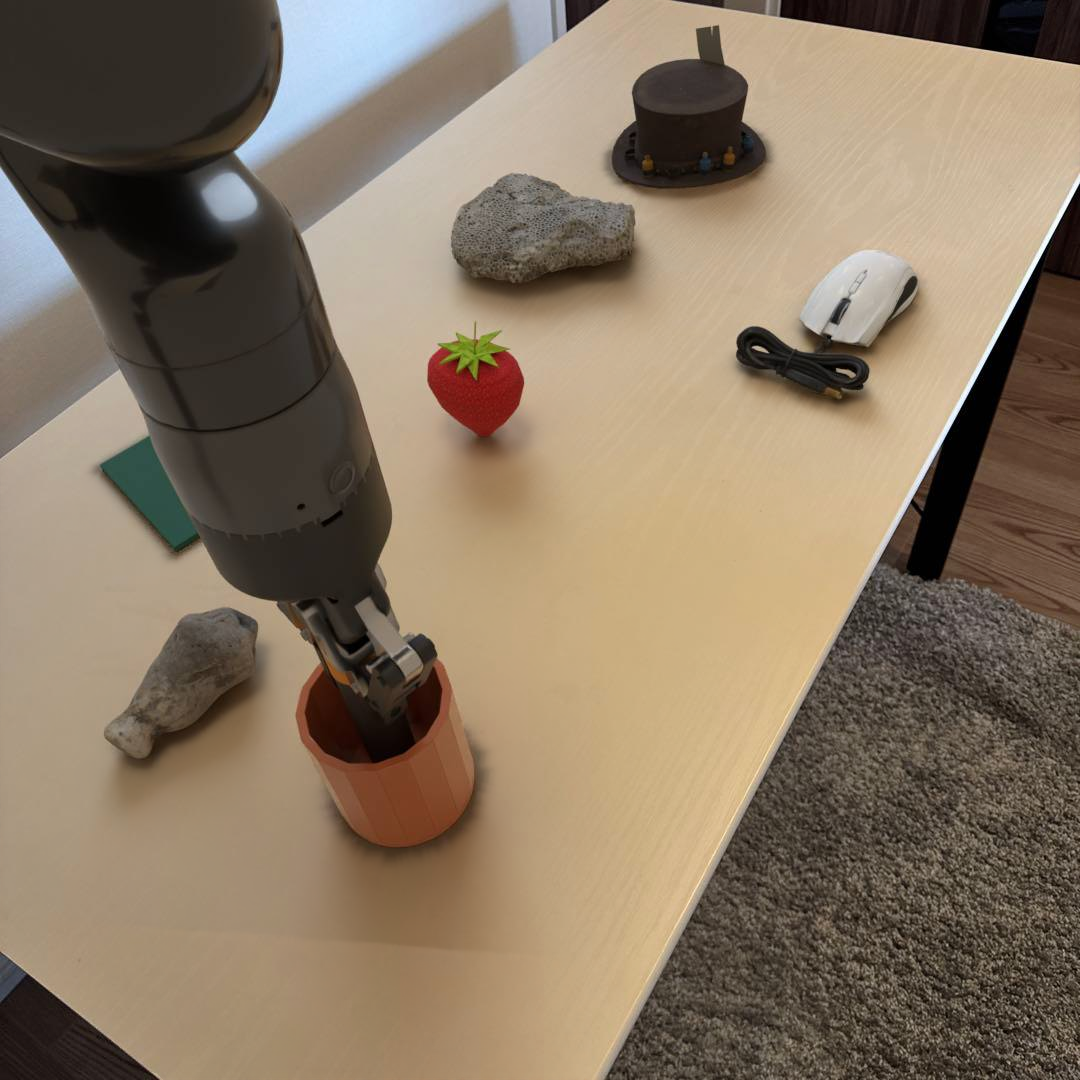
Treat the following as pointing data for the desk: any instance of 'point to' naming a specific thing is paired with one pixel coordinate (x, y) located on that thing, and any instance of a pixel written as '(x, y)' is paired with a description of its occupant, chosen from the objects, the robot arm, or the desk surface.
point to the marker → (376, 741)
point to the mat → (151, 492)
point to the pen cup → (391, 762)
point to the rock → (537, 230)
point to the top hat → (689, 123)
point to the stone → (187, 677)
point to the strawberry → (476, 382)
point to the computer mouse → (837, 322)
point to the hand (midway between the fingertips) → (370, 693)
